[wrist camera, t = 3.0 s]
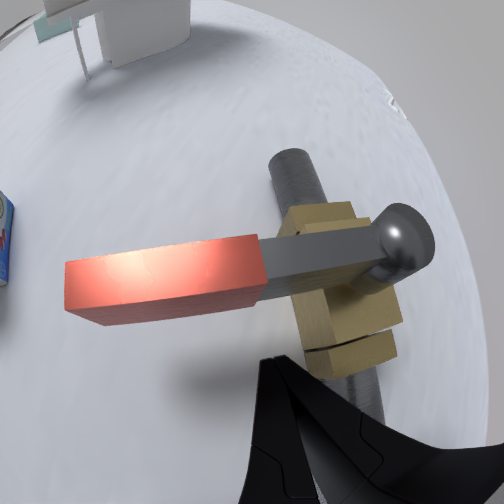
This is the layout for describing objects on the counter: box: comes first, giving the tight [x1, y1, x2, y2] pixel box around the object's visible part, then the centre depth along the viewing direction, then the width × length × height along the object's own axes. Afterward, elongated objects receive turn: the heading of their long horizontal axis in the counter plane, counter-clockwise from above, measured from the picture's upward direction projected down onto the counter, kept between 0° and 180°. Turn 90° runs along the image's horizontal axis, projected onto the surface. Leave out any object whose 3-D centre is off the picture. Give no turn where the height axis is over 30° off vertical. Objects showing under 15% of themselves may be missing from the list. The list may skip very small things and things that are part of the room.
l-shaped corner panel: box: [33, 13, 79, 42], centre depth 33 cm, size 12×12×8 cm
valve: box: [268, 148, 403, 426], centre depth 15 cm, size 20×4×6 cm, turn 11°
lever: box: [64, 203, 435, 326], centre depth 9 cm, size 3×13×4 cm, turn 101°
